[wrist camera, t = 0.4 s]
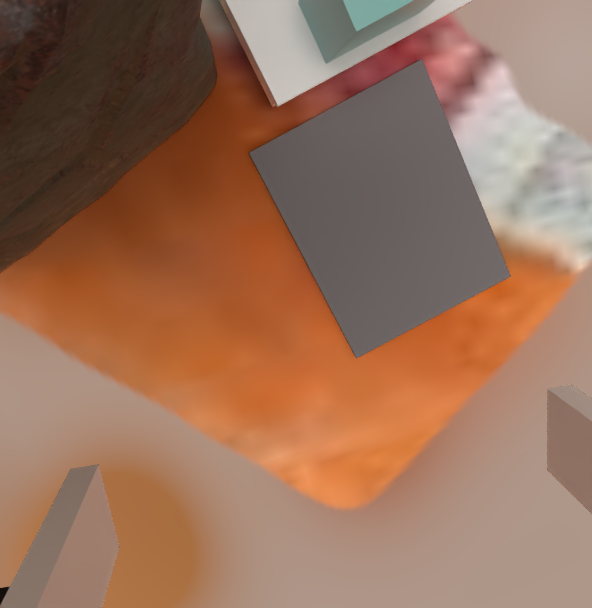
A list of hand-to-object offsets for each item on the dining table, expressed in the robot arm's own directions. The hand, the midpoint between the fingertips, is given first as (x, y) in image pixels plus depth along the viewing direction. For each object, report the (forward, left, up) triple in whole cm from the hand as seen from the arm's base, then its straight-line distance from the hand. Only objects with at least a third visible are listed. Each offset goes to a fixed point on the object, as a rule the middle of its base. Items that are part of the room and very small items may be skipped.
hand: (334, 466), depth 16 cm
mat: (0, +10, -27) cm, 29 cm away
